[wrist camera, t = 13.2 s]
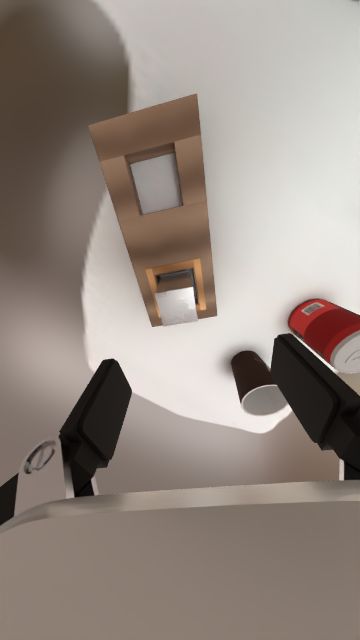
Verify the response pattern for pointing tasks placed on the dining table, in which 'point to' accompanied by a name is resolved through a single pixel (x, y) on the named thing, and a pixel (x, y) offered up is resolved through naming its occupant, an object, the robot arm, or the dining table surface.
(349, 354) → the canned food
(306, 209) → the dining table surface
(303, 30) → the dining table surface
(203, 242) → the socket board
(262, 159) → the dining table surface
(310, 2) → the dining table surface
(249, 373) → the coffee mug
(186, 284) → the metal block
